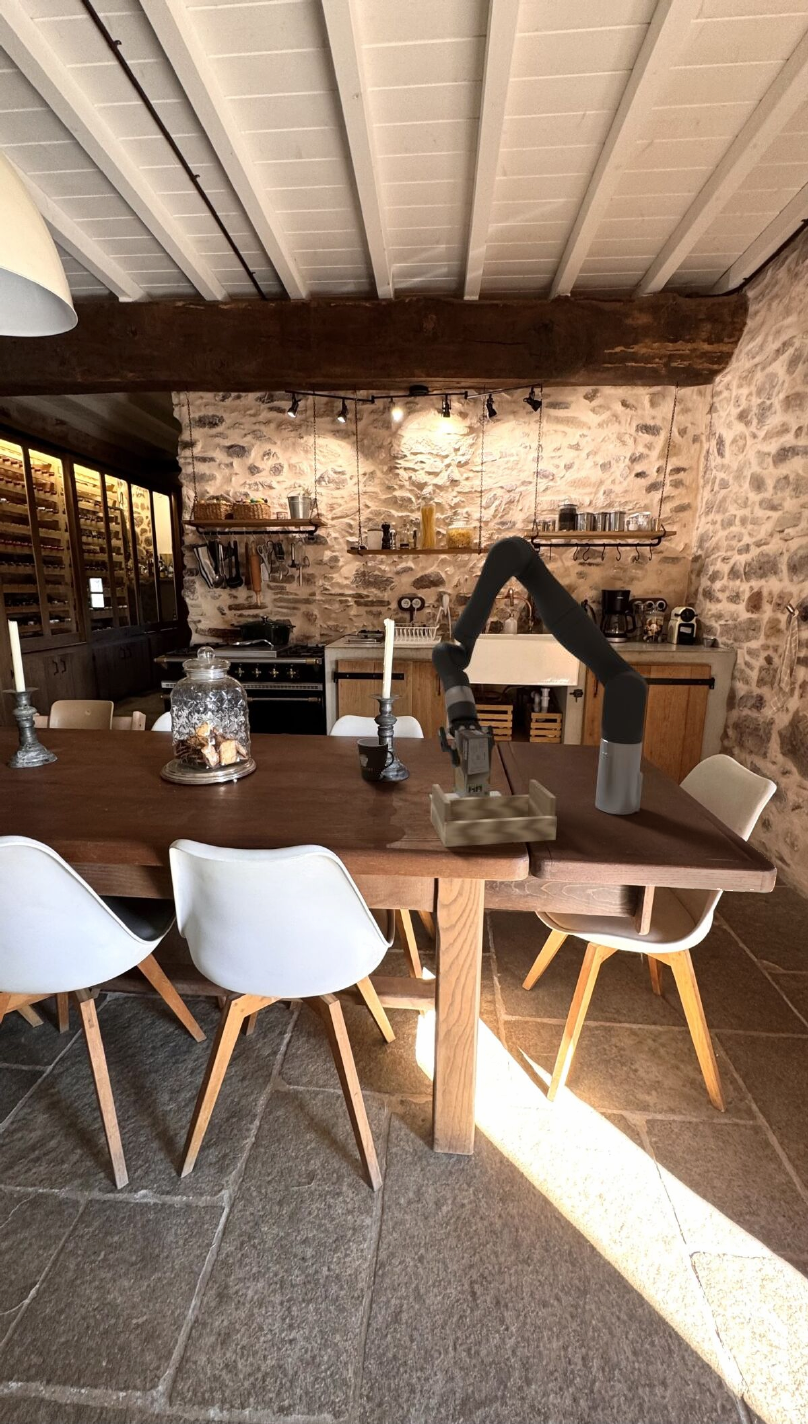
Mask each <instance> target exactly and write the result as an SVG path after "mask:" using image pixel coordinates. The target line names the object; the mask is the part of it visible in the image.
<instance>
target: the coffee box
mask: <svg viewBox="0 0 808 1424" xmlns="http://www.w3.org/2000/svg"><path fill="white" fill-rule="evenodd" d="M492 738H493V737H492V736H490V735H488V734H486V733H484V732H483V731H481V730H479V729H477V728H474V729H462V730H455V739H456V746H457V747H456V750H457V752H458V758H459V766H458V767H455V765H453V789H452V791H453V792H452V793H456V794H457V795H458V796H459V797H460V798H469V797H489V796H490V792H491V777H492V776H491V775H492V757H493V756H492V755H493V754H492V753H493V749H492Z"/></svg>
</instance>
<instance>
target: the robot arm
mask: <svg viewBox="0 0 808 1424" xmlns="http://www.w3.org/2000/svg"><path fill="white" fill-rule="evenodd" d="M488 550H489V551H488V552H487V555H486V557H485V561H484V563H483V565H482V570H481V571H480V574H479V576H478V579H477V581H476V583H475V586H474V589H473V591H472V592H471V595H470V597H469V598H468V600H467V603H466V604H465V606H464V608H463V610H462V611H461V613H460V614H459V617H458V618H457V620H456V622H455V624H454V626H453V627H452V630H451V636H452V637H453V639H454V640H455V641H456V642H458V643H460V644H459V645H458V644H453V643H450V642H446V641H442V642H441V641H440V642H438V643H436V645H435V646H434V647H433V649H432V652H431V662H432V664H433V668H434V669H435V672H436V674H437V675H438V677H439V679H440V681H441V683H442V686H443V692H444V703H445V710H446V715H447V720H448V726H449V727H444V726H439V729H438V731H437V734H438V735H437V736H438V740H439V744H440V747H441V751H442V752H443V753H449V754H450V755H449V757H450V760H451V764H452V765H453V766H454V765H455V767H458V766H459V758H458V752H457V750H456V747H457V746H456V739H455V730H462V729H474V728H477V729H479V730H481V731H483V732H484V733H486V734H488V735H490V736H492V737H493V738H492V750H494V747H495V746H496V741H495V736H494V735H495V734H494V729H493V726H492V725H491V724H490V725H487V726H482V725H481V724H480V722H479V717H478V716H479V715H478V711H477V707H476V702H475V698H474V694H473V692H472V687H471V683H470V679H469V675H468V673H467V672H465V670H466V669H467V668H468V667H469V666H470V664H471V661H472V657H473V653H474V649H475V646H476V642H477V640H478V638H479V637H480V635H481V633H482V632H483V630H484V629H485V627H486V626H487V624H488V621H489V619H490V617H491V614H492V611H493V607H494V604H495V601H496V600H497V597H498V596H499V593H500V592H501V590H502V589H503V588H504V587H505V585H506V584H507V583H508V581H510V579H511V578H512V577H513V578H515V579H516V580H517V581H518V582H519V583H520V584H521V585H522V587H524V589H525V590H526V591H527V592H528V594H529V595H530V596H531V599H532V600H533V602H534V605H535V607H536V610H537V613H538V615H539V617H540V620H541V621H542V623H543V625H544V626H545V628H546V629H547V630H548V632H549V633H550V634H551V635H552V636H553V638H554V639H556V641H557V642H558V643H559V644H560V645H561V647H562V648H563V649H565V650H567V652H568V653H570V654H571V655H573V657H575V658H576V659H577V660H579V662H581V663H583V664H584V665H585V666H586V667H587V668H588V669H589V671H591V672H592V674H594V676H595V677H596V679H597V680H598V682H599V683H600V684H601V686H602V687H603V688H604V689H603V695H602V696H603V697H602V707H601V708H602V709H601V721H600V723H601V724H600V726H601V730H600V731H601V732H600V733H601V735H600V736H601V737H600V747H599V757H598V769H597V780H596V781H597V782H596V790H595V791H596V793H595V803H594V805H595V808H597V809H598V810H600V811H602V812H605V813H607V814H612V815H622V816H623V815H630V814H633V813H636V812H640V806H641V797H642V796H641V795H642V787H643V786H642V785H643V777H644V775H643V774H644V773H643V772H642V771H640V769H641V767H640V766H641V761H642V760H641V757H642V751H643V750H642V749H643V741H644V740H643V739H644V731H645V728H644V727H645V717H646V706H647V697H648V694H649V687H648V682H647V681H646V679H645V677H644V676H643V675H641V673H640V672H638V671H637V670H636V668H634V667H633V666H632V665H630V664H629V663H628V661H626V660H625V659H624V658H623V657H622V655H620V654H619V653H618V651H616V650H615V648H614V647H613V646H612V645H611V642H609V640H608V638H606V636H605V635H604V633H603V632H602V631H601V629H600V628H599V626H598V625H597V623H596V622H595V621H594V620H593V618H592V617H591V616H590V614H588V613H587V611H586V610H585V609H584V608H583V607H582V605H580V603H579V602H578V601H577V600H576V599H575V598H574V597H573V595H571V593H570V592H569V591H568V590H567V588H565V586H564V585H563V584H562V583H561V582H560V581H559V580H558V579H557V578H556V577H555V576H554V575H553V573H552V572H551V571H550V570H549V568H548V567H547V565H546V563H545V562H544V561H543V559H542V558H541V557H540V555H539V554H538V552H537V551H536V549H535V548H534V547H533V544H531V543H530V541H528V539H525V538H523V537H522V536H510V537H504V538H500V539H497V541H495V542H494V543H493V544H492V545H491V547H490V548H489V549H488ZM448 734H449V735H450V736H451V737H452V738H453V741H452V744H451V745H450V744H449V741H448V738H447V737H448Z"/></svg>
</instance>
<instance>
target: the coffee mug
mask: <svg viewBox="0 0 808 1424" xmlns="http://www.w3.org/2000/svg"><path fill="white" fill-rule="evenodd" d="M379 738H380V737H366V738H360V739H358V740H357V748H358V749H357V750H358V757H359V764H360V765H359V766H360V774H361V778H362V779H364V780H368V781H378V780H379V778H380V774H381V772H382V771H383V770H384V769H385V770H386V769H388V768H389V767H391V766H392V765H393V764H394V761H395V755H394V753H393V752H392V751H391V750H389V745H390V744H389V743H390V741H389V740H388V742H387V744H384V745H379ZM388 754H390V756H391V762H389V764H387V760H388ZM385 764H386V766H385ZM379 781H380V780H379Z"/></svg>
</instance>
